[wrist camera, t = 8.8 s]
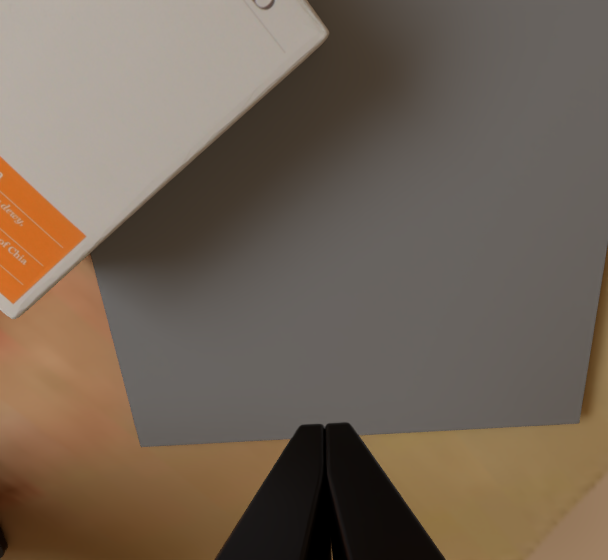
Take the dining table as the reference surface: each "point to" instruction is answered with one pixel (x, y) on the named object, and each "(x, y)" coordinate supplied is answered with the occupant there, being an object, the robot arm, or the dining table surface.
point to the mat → (380, 235)
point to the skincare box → (120, 112)
